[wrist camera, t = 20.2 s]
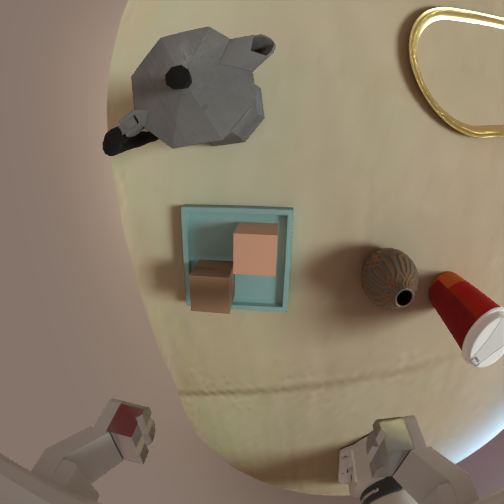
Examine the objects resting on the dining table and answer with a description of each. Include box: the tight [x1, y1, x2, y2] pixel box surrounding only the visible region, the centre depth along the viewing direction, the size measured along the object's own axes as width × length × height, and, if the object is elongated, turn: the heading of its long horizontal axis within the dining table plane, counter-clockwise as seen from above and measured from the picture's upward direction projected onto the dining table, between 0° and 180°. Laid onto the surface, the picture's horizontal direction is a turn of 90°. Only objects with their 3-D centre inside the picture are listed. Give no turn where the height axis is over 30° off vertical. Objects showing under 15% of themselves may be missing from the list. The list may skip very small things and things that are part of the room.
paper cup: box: [429, 272, 504, 367], centre depth 31 cm, size 8×8×14 cm
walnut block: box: [189, 259, 235, 314], centre depth 37 cm, size 4×4×5 cm
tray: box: [181, 205, 294, 312], centre depth 38 cm, size 13×13×2 cm
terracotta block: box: [233, 222, 278, 276], centre depth 35 cm, size 4×4×5 cm
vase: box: [361, 248, 419, 310], centre depth 34 cm, size 7×7×9 cm
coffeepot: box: [103, 27, 276, 156], centre depth 25 cm, size 15×9×18 cm, turn 119°
